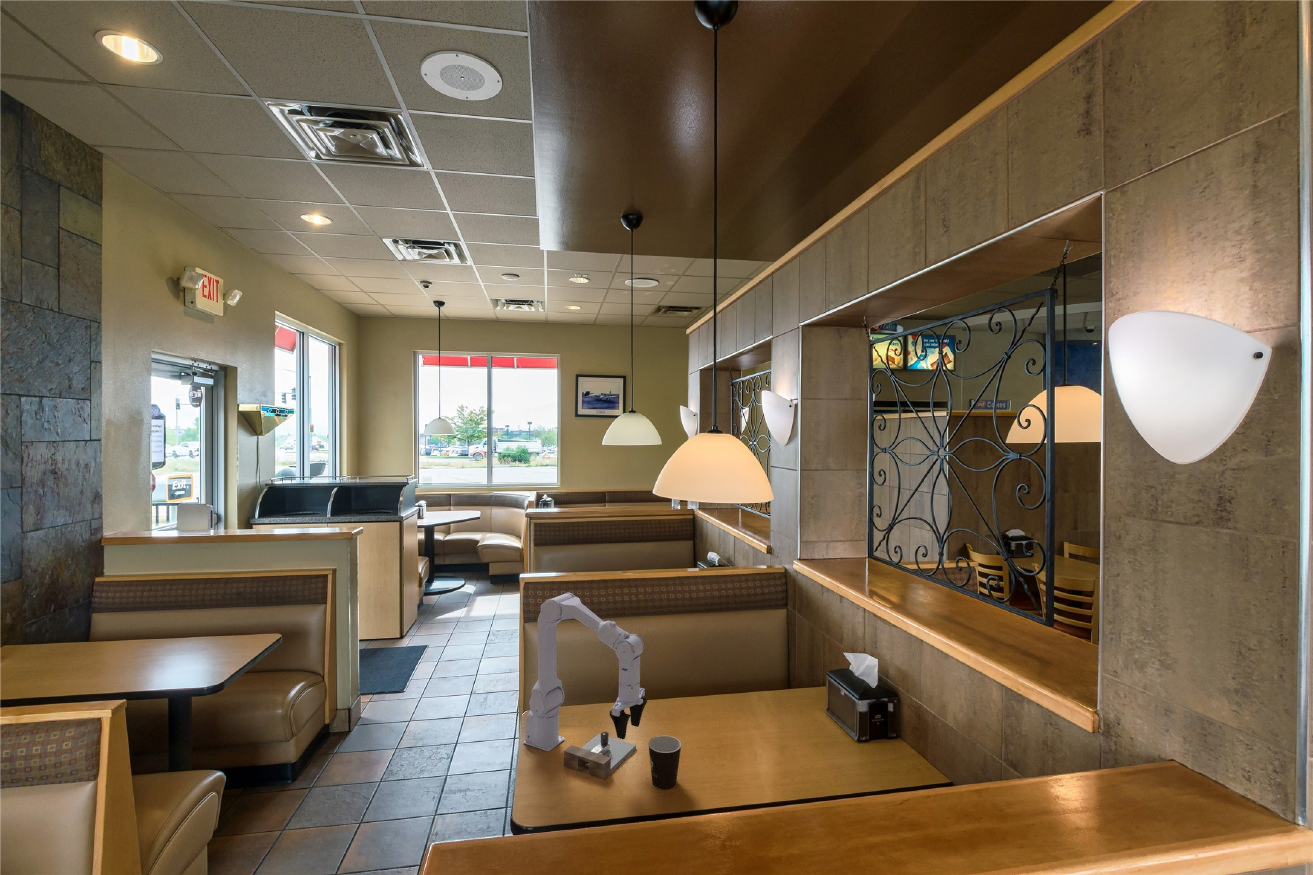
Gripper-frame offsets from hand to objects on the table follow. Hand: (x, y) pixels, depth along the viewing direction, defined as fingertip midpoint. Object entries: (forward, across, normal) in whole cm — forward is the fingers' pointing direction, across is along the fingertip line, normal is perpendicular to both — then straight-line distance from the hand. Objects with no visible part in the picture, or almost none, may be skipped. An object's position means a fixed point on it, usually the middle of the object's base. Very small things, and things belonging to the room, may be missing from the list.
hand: (628, 731), depth 153 cm
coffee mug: (+10, +1, -11) cm, 15 cm away
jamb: (+10, -6, +9) cm, 15 cm away
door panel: (+10, +3, +9) cm, 14 cm away
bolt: (+9, +1, +10) cm, 13 cm away
